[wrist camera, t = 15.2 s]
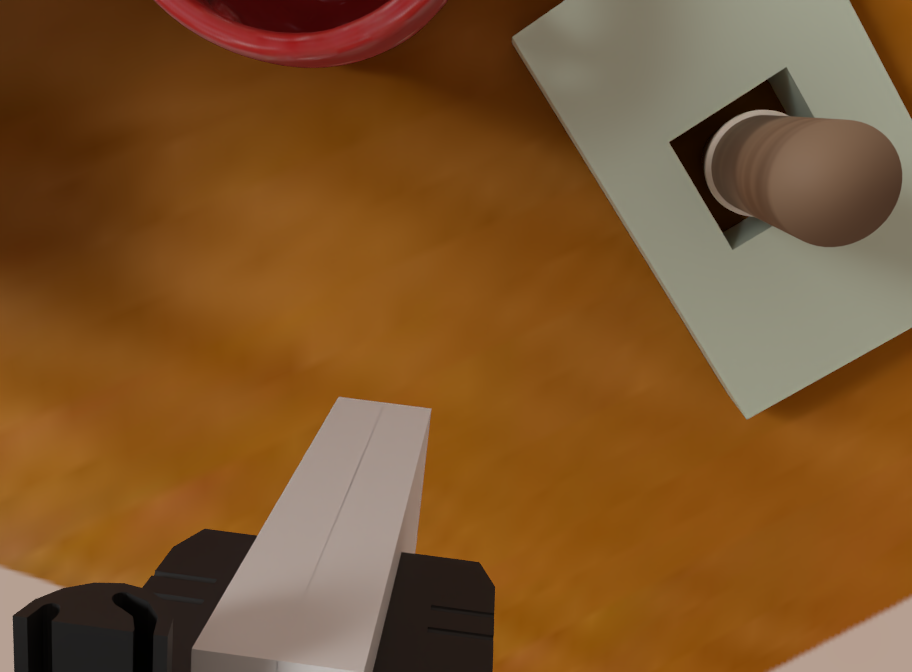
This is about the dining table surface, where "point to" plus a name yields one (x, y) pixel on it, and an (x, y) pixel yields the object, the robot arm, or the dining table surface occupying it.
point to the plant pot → (304, 27)
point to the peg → (805, 174)
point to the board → (679, 203)
